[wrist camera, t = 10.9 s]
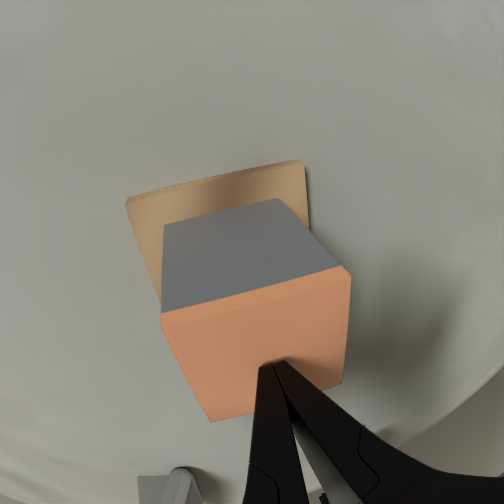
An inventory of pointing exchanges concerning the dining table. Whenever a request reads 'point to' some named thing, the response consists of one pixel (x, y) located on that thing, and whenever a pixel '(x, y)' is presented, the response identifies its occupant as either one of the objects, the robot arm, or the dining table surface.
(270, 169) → the tan piece
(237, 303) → the grey-topped salmon cube
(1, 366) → the dining table surface
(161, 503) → the digital clock
